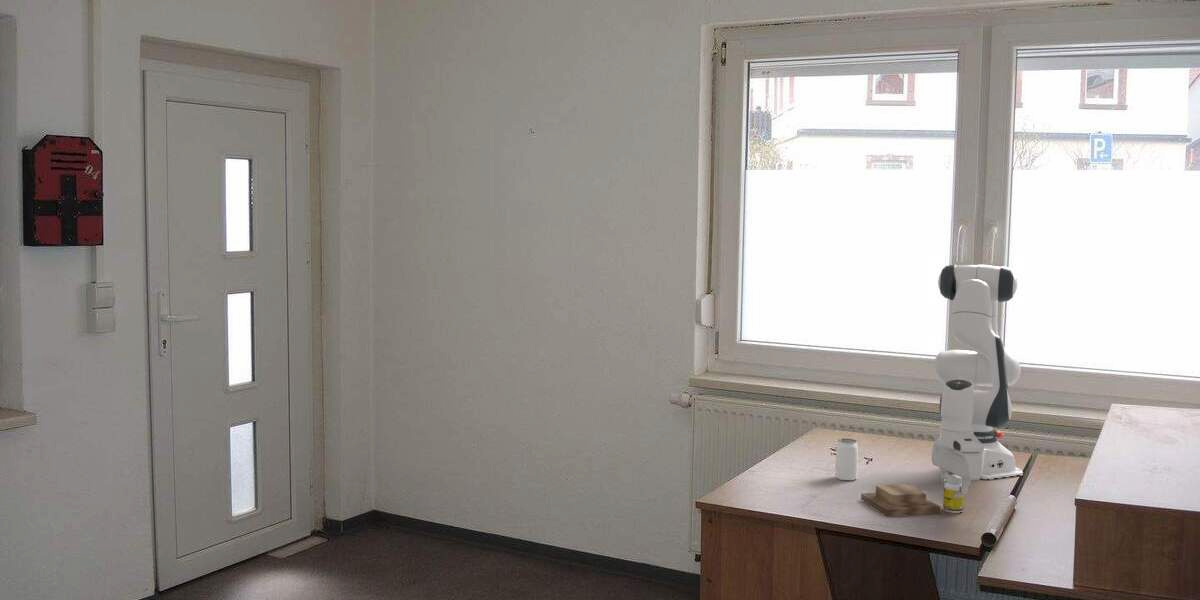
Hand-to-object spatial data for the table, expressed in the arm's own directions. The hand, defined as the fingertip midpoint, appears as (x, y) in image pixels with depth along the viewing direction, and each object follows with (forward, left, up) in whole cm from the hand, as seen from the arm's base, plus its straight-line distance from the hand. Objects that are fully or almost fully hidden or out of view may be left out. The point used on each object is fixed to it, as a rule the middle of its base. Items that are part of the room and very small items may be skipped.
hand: (954, 488), depth 289 cm
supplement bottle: (0, 0, -7) cm, 7 cm away
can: (+15, -37, -7) cm, 41 cm away
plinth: (+13, -6, -6) cm, 16 cm away
